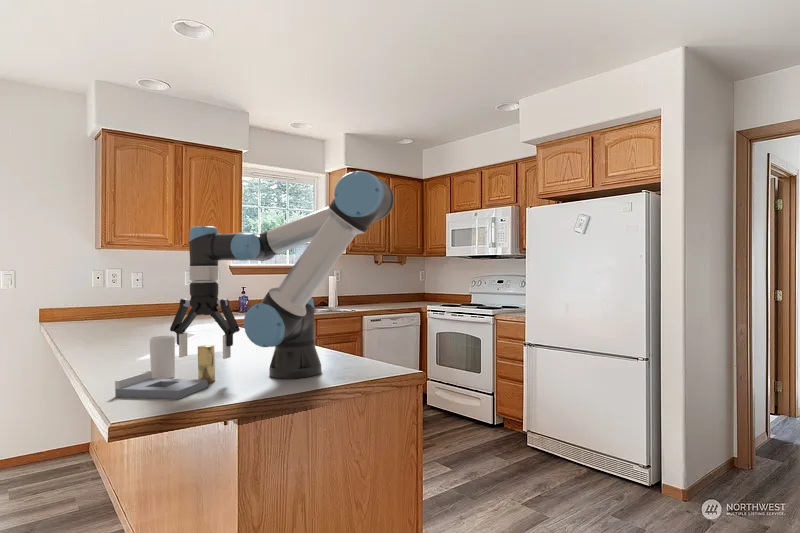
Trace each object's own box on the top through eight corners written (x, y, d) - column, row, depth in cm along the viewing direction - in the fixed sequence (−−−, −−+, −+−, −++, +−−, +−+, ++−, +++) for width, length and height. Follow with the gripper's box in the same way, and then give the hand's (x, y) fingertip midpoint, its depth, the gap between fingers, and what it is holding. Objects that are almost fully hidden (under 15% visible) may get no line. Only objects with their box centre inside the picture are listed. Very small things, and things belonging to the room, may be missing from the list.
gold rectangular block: (218, 380, 145) (217, 345, 145) (209, 383, 140) (208, 347, 140) (204, 379, 146) (203, 344, 146) (195, 383, 141) (194, 347, 141)
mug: (170, 379, 147) (169, 338, 147) (146, 380, 146) (145, 339, 146) (182, 372, 157) (181, 333, 157) (160, 373, 156) (159, 334, 156)
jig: (207, 387, 136) (206, 372, 136) (178, 399, 125) (178, 382, 125) (148, 385, 140) (148, 371, 140) (115, 396, 128) (115, 380, 128)
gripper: (251, 281, 144) (252, 356, 144) (173, 281, 149) (174, 353, 149) (237, 282, 137) (238, 361, 137) (156, 282, 142) (156, 358, 142)
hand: (204, 357), depth 143 cm, fingers open, 13 cm apart
